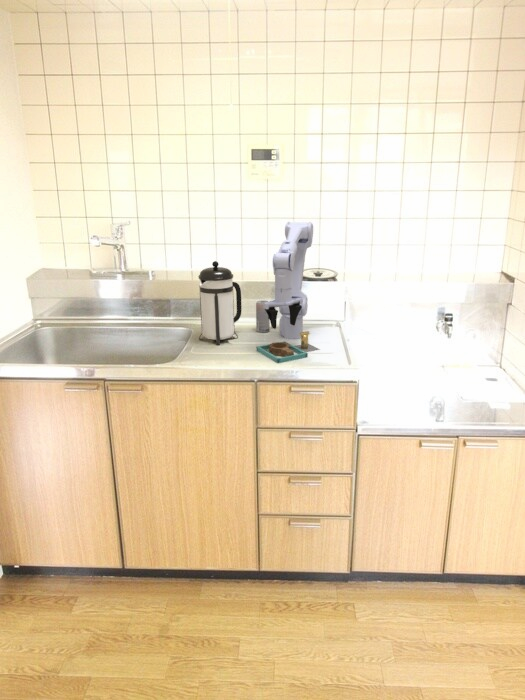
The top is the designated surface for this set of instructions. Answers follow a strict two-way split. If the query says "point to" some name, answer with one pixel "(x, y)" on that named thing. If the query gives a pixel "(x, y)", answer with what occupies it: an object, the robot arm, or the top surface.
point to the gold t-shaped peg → (304, 339)
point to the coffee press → (218, 303)
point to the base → (310, 348)
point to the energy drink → (262, 318)
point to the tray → (300, 355)
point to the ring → (280, 349)
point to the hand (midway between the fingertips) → (283, 326)
